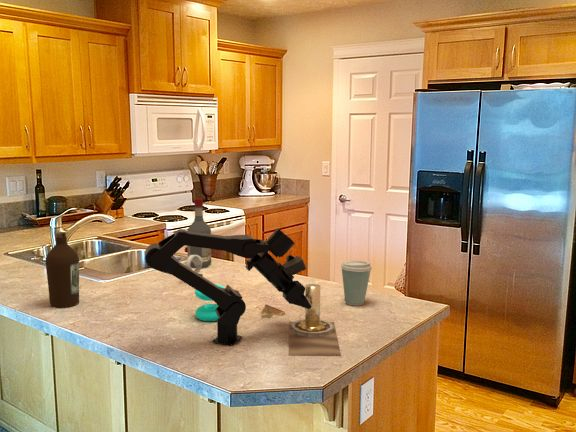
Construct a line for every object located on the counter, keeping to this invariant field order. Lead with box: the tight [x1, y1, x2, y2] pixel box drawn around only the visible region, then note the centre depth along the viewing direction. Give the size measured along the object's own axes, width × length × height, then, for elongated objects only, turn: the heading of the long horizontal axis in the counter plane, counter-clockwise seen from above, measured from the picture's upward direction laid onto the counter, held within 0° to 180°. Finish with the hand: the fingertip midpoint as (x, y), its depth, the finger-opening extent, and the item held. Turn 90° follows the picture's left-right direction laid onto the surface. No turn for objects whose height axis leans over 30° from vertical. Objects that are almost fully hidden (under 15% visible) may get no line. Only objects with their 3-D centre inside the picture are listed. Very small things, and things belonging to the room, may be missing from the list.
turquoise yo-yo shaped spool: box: [194, 283, 226, 322], centre depth 177 cm, size 10×10×10 cm
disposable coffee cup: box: [340, 260, 372, 307], centre depth 192 cm, size 11×11×15 cm
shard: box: [260, 304, 286, 319], centre depth 182 cm, size 11×8×2 cm
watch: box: [185, 255, 204, 277], centre depth 217 cm, size 6×8×11 cm
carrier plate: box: [288, 318, 342, 357], centre depth 158 cm, size 26×14×2 cm, turn 0°
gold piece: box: [298, 283, 326, 332], centre depth 164 cm, size 8×8×14 cm
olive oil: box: [44, 231, 80, 309], centre depth 188 cm, size 11×11×25 cm
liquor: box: [186, 197, 212, 269], centre depth 242 cm, size 9×9×30 cm
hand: (305, 303), depth 163 cm, fingers open, 9 cm apart
